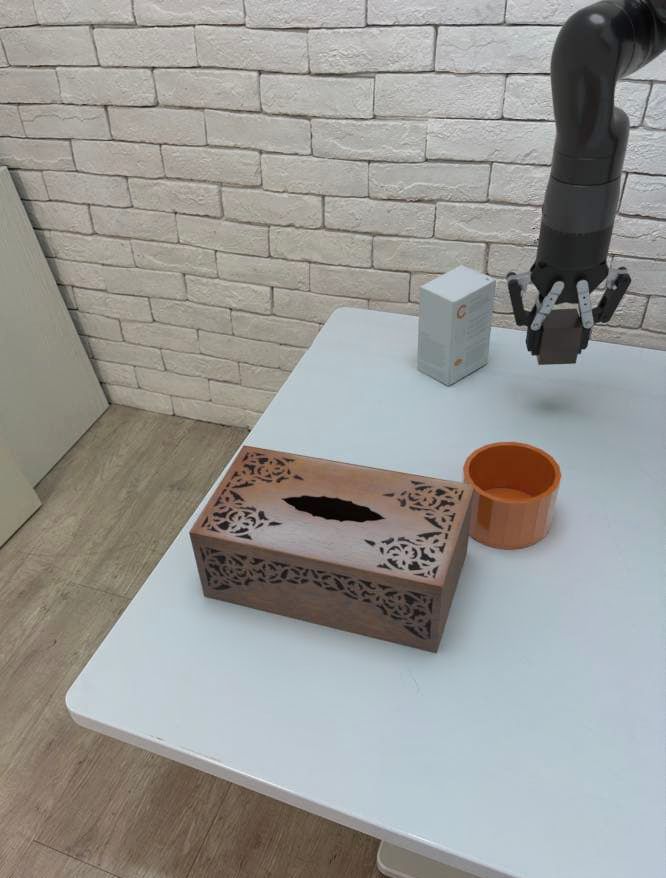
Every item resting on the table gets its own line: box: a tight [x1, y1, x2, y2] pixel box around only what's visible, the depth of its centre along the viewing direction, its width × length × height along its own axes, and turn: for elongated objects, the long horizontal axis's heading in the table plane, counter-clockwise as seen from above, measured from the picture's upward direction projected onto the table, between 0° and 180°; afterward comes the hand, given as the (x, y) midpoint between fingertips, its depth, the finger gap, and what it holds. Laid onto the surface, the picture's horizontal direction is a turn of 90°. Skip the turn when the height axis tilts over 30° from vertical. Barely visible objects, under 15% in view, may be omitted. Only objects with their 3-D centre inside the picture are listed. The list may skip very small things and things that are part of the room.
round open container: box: [461, 441, 563, 550], centre depth 89 cm, size 10×10×7 cm
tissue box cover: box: [188, 444, 475, 654], centre depth 85 cm, size 26×14×10 cm, turn 68°
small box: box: [416, 264, 497, 387], centre depth 109 cm, size 8×6×13 cm
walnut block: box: [535, 308, 583, 366], centre depth 97 cm, size 4×4×5 cm
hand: (555, 350), depth 99 cm, fingers closed on walnut block, 4 cm apart
